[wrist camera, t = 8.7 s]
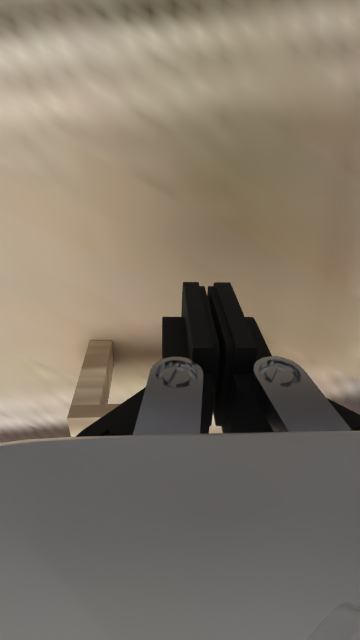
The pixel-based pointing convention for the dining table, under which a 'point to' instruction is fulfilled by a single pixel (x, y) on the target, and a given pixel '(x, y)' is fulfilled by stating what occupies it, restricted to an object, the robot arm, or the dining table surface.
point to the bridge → (97, 389)
